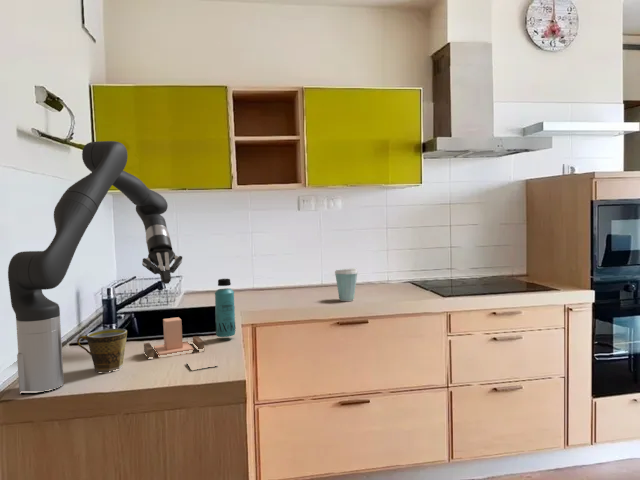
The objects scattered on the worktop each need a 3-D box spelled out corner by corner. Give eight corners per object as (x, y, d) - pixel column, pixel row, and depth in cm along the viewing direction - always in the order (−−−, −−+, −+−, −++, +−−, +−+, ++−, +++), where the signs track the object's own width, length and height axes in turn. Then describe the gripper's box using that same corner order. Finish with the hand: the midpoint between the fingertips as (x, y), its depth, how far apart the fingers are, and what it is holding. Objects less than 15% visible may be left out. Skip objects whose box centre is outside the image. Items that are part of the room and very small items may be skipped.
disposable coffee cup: (331, 301, 229) (330, 268, 228) (343, 297, 238) (342, 266, 237) (350, 303, 223) (349, 269, 222) (362, 299, 231) (361, 267, 231)
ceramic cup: (133, 363, 139) (132, 327, 138) (120, 374, 129) (118, 336, 128) (87, 365, 139) (85, 329, 138) (70, 376, 129) (68, 338, 128)
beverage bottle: (212, 339, 163) (209, 279, 162) (229, 335, 168) (226, 276, 167) (223, 342, 159) (220, 280, 158) (240, 338, 163) (238, 278, 162)
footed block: (159, 358, 143) (157, 324, 143) (154, 350, 152) (152, 318, 152) (194, 353, 148) (192, 320, 147) (187, 346, 157) (185, 314, 156)
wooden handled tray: (147, 359, 142) (147, 349, 142) (144, 353, 149) (143, 343, 149) (204, 351, 149) (204, 341, 149) (198, 345, 156) (197, 336, 156)
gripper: (138, 234, 159) (145, 276, 149) (180, 232, 165) (189, 272, 155) (136, 250, 164) (143, 291, 154) (177, 247, 170) (186, 287, 160)
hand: (166, 282), depth 155 cm, fingers closed
